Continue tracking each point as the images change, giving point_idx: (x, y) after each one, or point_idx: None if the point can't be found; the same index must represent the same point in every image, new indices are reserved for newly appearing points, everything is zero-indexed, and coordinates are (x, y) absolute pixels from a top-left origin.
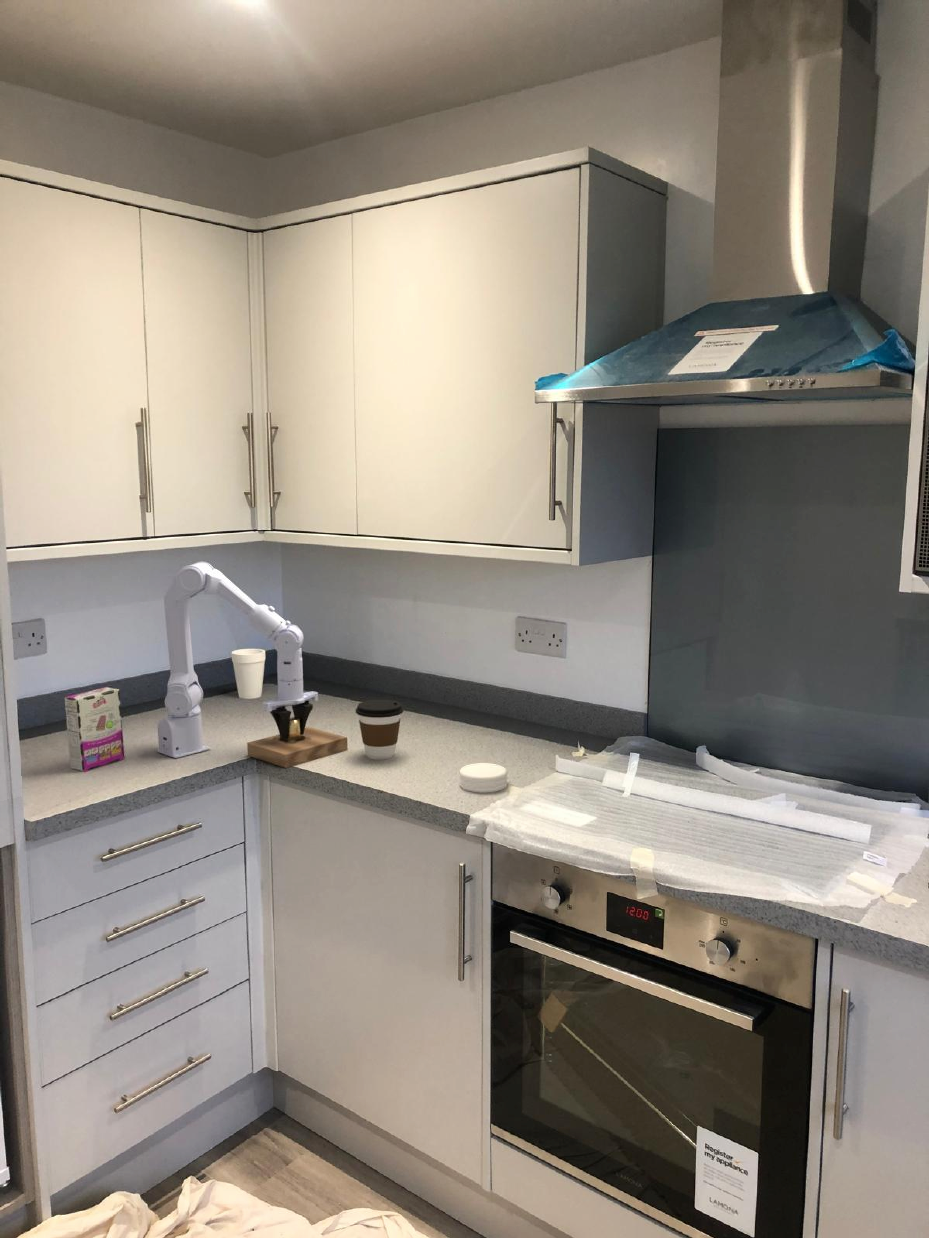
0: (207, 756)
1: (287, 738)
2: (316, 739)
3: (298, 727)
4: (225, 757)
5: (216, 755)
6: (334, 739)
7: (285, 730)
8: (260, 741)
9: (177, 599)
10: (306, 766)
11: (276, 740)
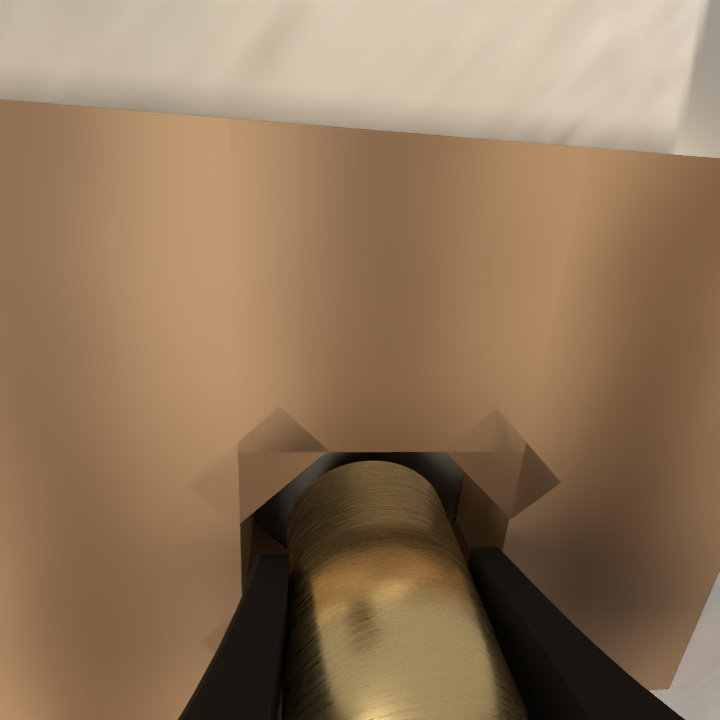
0: (716, 711)
1: (482, 547)
2: (225, 363)
3: (377, 611)
4: (695, 648)
5: (683, 699)
6: (38, 167)
7: (567, 618)
8: None
9: None
10: (642, 30)
11: None
